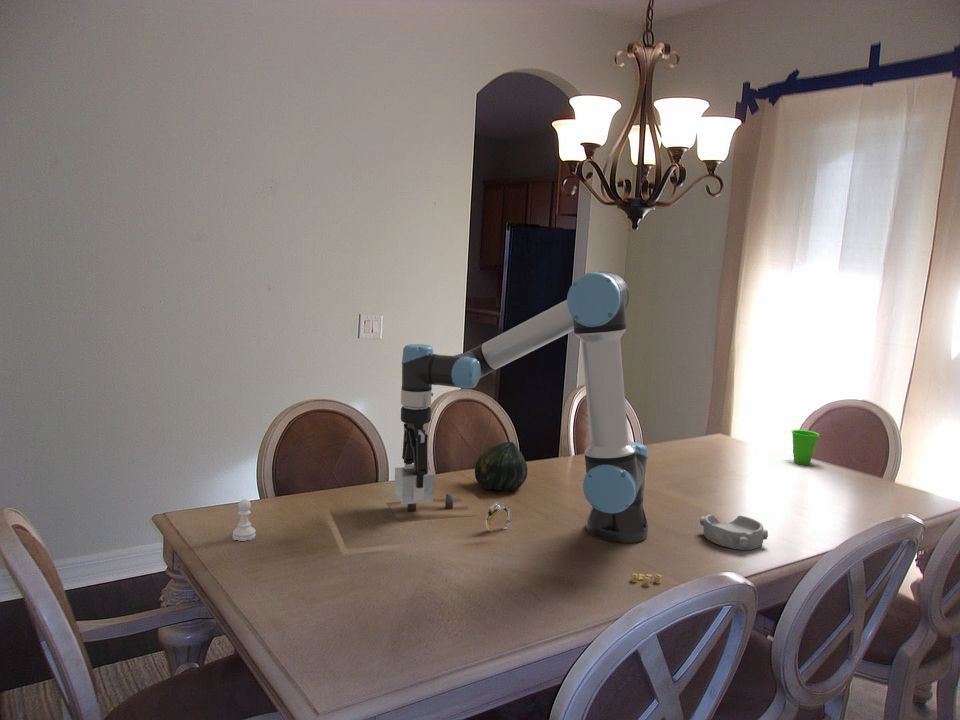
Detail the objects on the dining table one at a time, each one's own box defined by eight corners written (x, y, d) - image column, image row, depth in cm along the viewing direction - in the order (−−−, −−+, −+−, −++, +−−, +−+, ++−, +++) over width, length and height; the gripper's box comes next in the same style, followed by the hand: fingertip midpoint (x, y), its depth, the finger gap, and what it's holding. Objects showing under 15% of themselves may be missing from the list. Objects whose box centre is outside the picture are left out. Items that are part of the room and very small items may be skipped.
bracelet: (489, 538, 173) (490, 506, 171) (482, 534, 175) (483, 502, 174) (513, 534, 176) (515, 502, 175) (506, 529, 179) (508, 498, 178)
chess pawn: (260, 537, 167) (260, 499, 165) (243, 543, 162) (243, 505, 161) (245, 531, 169) (245, 494, 168) (227, 538, 165) (227, 500, 163)
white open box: (433, 501, 182) (433, 474, 182) (402, 504, 180) (402, 477, 179) (424, 491, 190) (425, 466, 189) (394, 494, 187) (395, 467, 186)
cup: (817, 462, 258) (821, 432, 257) (813, 468, 251) (817, 437, 249) (790, 457, 263) (793, 428, 261) (786, 463, 255) (789, 432, 254)
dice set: (662, 584, 154) (663, 576, 154) (648, 591, 151) (649, 582, 150) (641, 576, 158) (642, 568, 157) (628, 583, 154) (629, 574, 154)
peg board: (476, 520, 184) (477, 496, 183) (399, 526, 177) (400, 502, 176) (458, 501, 197) (459, 479, 196) (386, 507, 190) (387, 484, 189)
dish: (691, 533, 184) (693, 514, 183) (736, 528, 189) (737, 510, 188) (730, 555, 170) (732, 535, 170) (776, 550, 175) (778, 530, 175)
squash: (463, 462, 216) (482, 433, 206) (507, 460, 223) (527, 432, 213) (477, 504, 208) (497, 477, 197) (521, 501, 214) (543, 474, 204)
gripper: (442, 414, 173) (439, 506, 176) (419, 397, 193) (416, 480, 196) (412, 415, 171) (409, 508, 174) (391, 398, 190) (389, 482, 193)
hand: (413, 493), depth 185 cm, fingers closed on white open box, 8 cm apart
